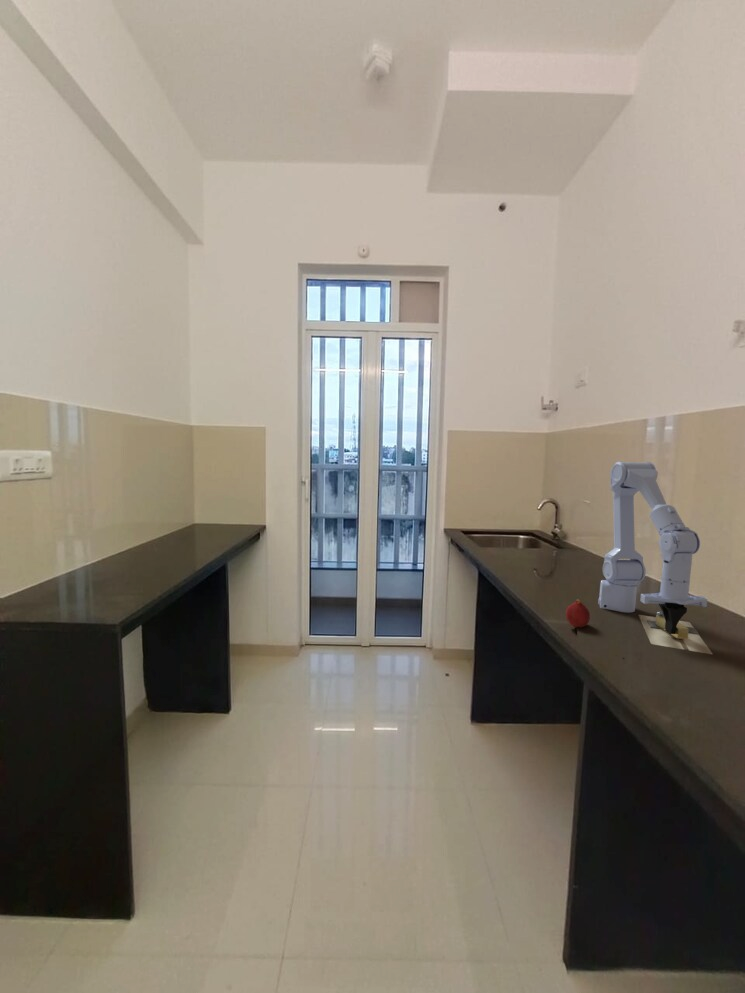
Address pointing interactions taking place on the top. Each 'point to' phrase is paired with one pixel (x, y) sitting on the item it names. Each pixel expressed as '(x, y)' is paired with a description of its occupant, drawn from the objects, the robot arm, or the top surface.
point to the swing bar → (680, 629)
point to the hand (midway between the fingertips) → (670, 632)
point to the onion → (577, 614)
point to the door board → (668, 640)
